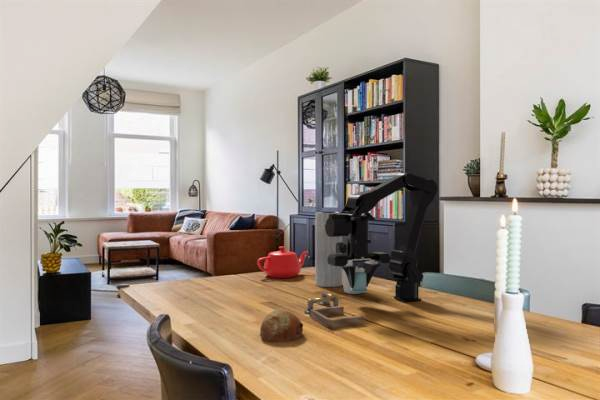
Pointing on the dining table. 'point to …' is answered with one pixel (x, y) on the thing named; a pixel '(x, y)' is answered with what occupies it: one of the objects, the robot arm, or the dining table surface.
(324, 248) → the vase
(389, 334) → the dining table surface
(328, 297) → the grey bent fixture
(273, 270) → the teapot
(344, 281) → the cup
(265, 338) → the bread roll
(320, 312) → the dock
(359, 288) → the spool
